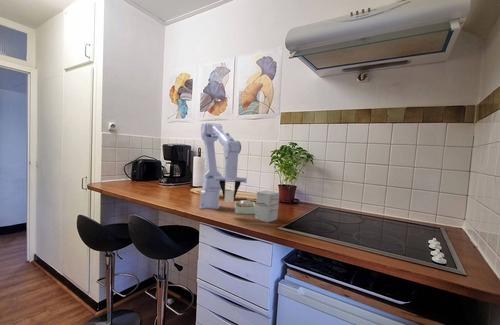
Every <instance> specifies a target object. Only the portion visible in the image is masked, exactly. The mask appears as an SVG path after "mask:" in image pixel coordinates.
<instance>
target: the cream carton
mask: <svg viewBox="0 0 500 325" xmlns="http://www.w3.org/2000/svg"><path fill="white" fill-rule="evenodd" d="M234 190H235V189H228V188H227V189H226V188H225V198H223V199H224V200H223V201H224V202H223V203H235V200H234Z"/></svg>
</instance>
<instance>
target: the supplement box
mask: <svg viewBox="0 0 500 325" xmlns="http://www.w3.org/2000/svg"><path fill="white" fill-rule="evenodd" d="M279 200H280V193H279V192H275V191H272V190H267V189H265V190H258V191H256V203H255V206H256V214H254V215H255V217H254V219H255V220H256V219H257V220H259V221H262V222H266V223H269V222H273V221H277V220H278V215H279V214H278V213H279V211H278V210H279Z"/></svg>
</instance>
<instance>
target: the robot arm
mask: <svg viewBox="0 0 500 325" xmlns="http://www.w3.org/2000/svg"><path fill="white" fill-rule="evenodd" d="M200 135H201V136H200V137H201V140H202V141H203V142H204V152H205V153H204V154H205V163H206V172H205V173H204V174H203V175H202V178H201V186H202V187H201V188H202V189H201V190H200V201H199V209H203V210H205V209H211V210H212V209H213V210H219V209H220V206H221V205H220V191H221V192H222V198H223V199H225V189H226V182H228V183H231V182H232V183H234V189H233V190H234V199H236V195H237V193H238V191H239V188H240V186H241V183H243V184H247V180H248V178H247V177H240V176H239V177H238V165H239V164H238V163H239V162H238V161H239V154H240V153H241V151H242V144H241V142H240V141H239V140H235V139H234V138H233V137H232V136H231V135H230V133H229V132H224V130H223V126H222V124H220V123H215V122H214V123H213V122H206V121H204V122H202V123H201V126H200ZM216 141H218V142H219V143H220V144H221V146H222V147H223V148H222V149H223V155H224V172H223V176H222V173H220V172H219V171H218V168H217V160H216V159H217V158H216V151H215V142H216Z"/></svg>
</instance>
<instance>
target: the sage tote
mask: <svg viewBox="0 0 500 325" xmlns="http://www.w3.org/2000/svg"><path fill="white" fill-rule="evenodd" d="M239 203H240V200H237V201H235V200H234V214H243V215H246V214H247V215H255V214H256V203H255V201H251V207H239Z"/></svg>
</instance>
